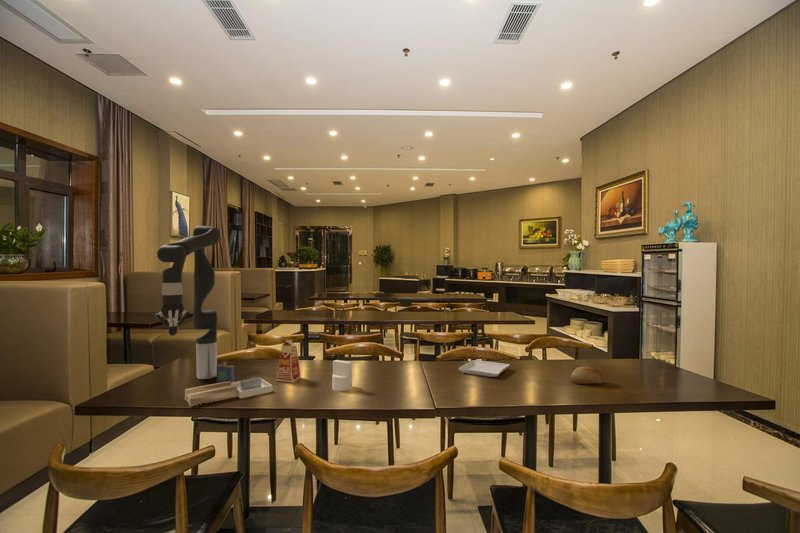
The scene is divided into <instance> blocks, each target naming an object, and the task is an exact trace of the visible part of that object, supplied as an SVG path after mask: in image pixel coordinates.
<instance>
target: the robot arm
mask: <svg viewBox="0 0 800 533" xmlns="http://www.w3.org/2000/svg"><path fill="white" fill-rule="evenodd" d="M192 233H193V234H192V236H187V237H183V239H180V240H178V241H175V242H171V243H166V244H163V245H161V246H160V247H159V248H158V250H157V252H156V257H157V258H158V260H159V261H160V262H162V263H172V266H171V267H169V268H168V267H167V268H164V269H163V270H162V284H161V285H162V286H161V308H160V311H159V312H157V313H155V314H154V316H155V317H156V318H157V319H158V321H160V323H161V324H163V325H164V326H165V327H166V326H167V327H168V334H169V335H170V336H176V334H178V326H180V325H182V324H183V322H184V321H185V320H186V319H187V317H188V316H189V315H190V312H189V311H187V310H186V309H185V308H184V304H183V303H184V302H183V300H184V299H183V296H184V295H183V293H184V291H183V290H184V288H183V274H182V273H183V270H184V267H185V263H186V259H187V256H189V255H191V254H192V253H193V256H194V258H193V259H194V263H193V264H194V268H193V270H194V271H193V291H194V292H193V310H192V327H193V329H194V330H196V331H199V330H200V331H201V330H207V332H205V333H203V334H202V335H201V334H200V335H198V336H197V337H196V340H195V341H196V343H195V348H196V349H195V350H196V353H195V354H196V355H195V356H196V363H195V364H196V379H198V380H207V379H212V378H215V377H216V376H217V367H216V366H217V365H218V355H217V354H218V352H217V351H218V346H217V345H218V340H217V336H218V331H217V330H218V314H217V311H216V310H215V309H210V310H209V309H208V310H207V309H206V310H202V307H203V304H204V302H205V299H206V298H207V297H208V296H209V294H210V293H211V292H212V290H213V289H214V286H215V284H216V283H215V281H216V280H215V279H216V278H215V277H216V276H215V275H216V274H215V269H214V267H213V265H212V264H211V262H210V260H209V259H208V258H207V254H206V252H205V248H206V247H211V246H215V245H217V244H218V243H219V242H220V238H221V234H220V230H219V228H217V227H216V226H211V225H210V226H209V225H196V226H195V227H194V229H193V232H192ZM181 315H182V316H181ZM163 316H164V317H165V318H166V320H167V321H166V320H165V319H164V318H163ZM180 316H181V317H180ZM179 317H180V319H179Z"/></svg>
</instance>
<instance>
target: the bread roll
mask: <svg viewBox="0 0 800 533" xmlns="http://www.w3.org/2000/svg"><path fill="white" fill-rule="evenodd" d="M604 380H605V379H604V375H603V373H602V372H601V371H600V370H599V369H597V368H596V367H593V366H590V365H589V366H586V365H585V366H583V365H582V366H579V367H576V368H575V369H574V370H573V372H572V373H571V375H570V381H571V382H572V383H573V384H578V385H583V384H585V385H586V384H602V383H603V382H604Z"/></svg>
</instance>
